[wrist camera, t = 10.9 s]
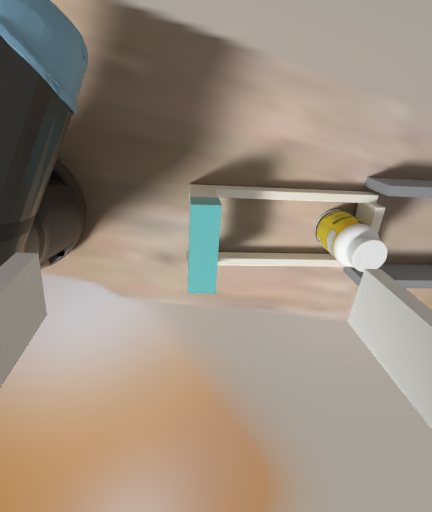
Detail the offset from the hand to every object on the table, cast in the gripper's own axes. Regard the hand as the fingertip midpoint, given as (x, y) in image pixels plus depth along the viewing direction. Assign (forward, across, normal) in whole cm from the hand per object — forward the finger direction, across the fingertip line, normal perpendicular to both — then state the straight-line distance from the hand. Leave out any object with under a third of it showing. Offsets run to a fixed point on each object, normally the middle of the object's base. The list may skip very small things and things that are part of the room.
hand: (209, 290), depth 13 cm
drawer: (+28, +12, -6) cm, 31 cm away
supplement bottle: (+29, +20, -6) cm, 35 cm away
